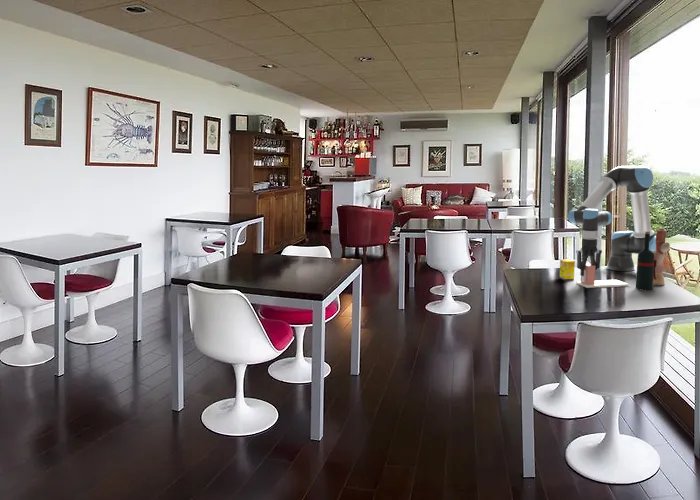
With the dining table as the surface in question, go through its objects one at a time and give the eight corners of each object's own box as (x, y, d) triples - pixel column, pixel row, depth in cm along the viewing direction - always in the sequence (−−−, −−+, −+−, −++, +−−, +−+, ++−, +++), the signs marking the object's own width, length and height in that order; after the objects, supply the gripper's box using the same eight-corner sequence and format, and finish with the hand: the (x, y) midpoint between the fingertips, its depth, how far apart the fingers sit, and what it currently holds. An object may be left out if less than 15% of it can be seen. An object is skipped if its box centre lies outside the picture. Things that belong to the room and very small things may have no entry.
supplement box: (559, 278, 328) (559, 259, 326) (569, 278, 328) (570, 259, 327) (563, 280, 322) (564, 261, 320) (574, 280, 323) (575, 261, 321)
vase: (646, 282, 314) (649, 227, 309) (659, 282, 313) (663, 227, 309) (655, 286, 303) (659, 230, 299) (669, 286, 303) (673, 230, 298)
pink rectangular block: (588, 282, 315) (589, 262, 313) (599, 287, 304) (600, 266, 302) (576, 283, 314) (576, 263, 312) (586, 287, 303) (587, 267, 301)
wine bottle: (660, 290, 296) (664, 232, 291) (641, 290, 295) (644, 232, 290) (650, 286, 303) (654, 230, 299) (632, 287, 303) (635, 230, 298)
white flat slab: (616, 281, 317) (616, 279, 316) (628, 286, 306) (628, 283, 306) (589, 283, 315) (589, 280, 315) (600, 287, 304) (600, 284, 304)
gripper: (601, 236, 310) (598, 279, 313) (570, 237, 308) (569, 280, 311) (608, 238, 302) (606, 282, 306) (578, 239, 300) (576, 283, 304)
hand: (587, 281), depth 309 cm, fingers closed on pink rectangular block, 4 cm apart
